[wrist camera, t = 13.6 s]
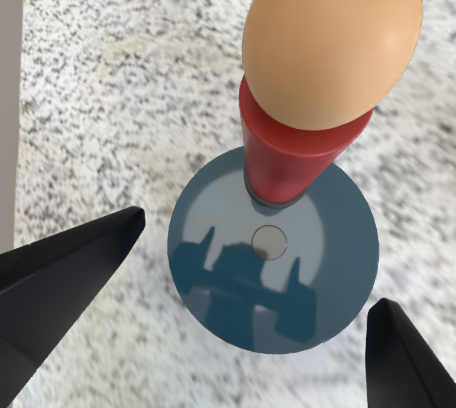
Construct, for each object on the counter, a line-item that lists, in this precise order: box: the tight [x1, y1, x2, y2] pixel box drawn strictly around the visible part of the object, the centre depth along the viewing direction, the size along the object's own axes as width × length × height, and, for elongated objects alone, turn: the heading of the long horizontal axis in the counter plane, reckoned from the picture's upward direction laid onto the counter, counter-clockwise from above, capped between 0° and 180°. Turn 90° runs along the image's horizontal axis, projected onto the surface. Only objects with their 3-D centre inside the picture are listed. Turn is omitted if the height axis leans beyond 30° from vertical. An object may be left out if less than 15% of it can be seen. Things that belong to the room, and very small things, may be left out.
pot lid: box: [167, 146, 379, 354], centre depth 16 cm, size 14×14×3 cm
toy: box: [239, 0, 423, 208], centre depth 10 cm, size 5×5×14 cm
